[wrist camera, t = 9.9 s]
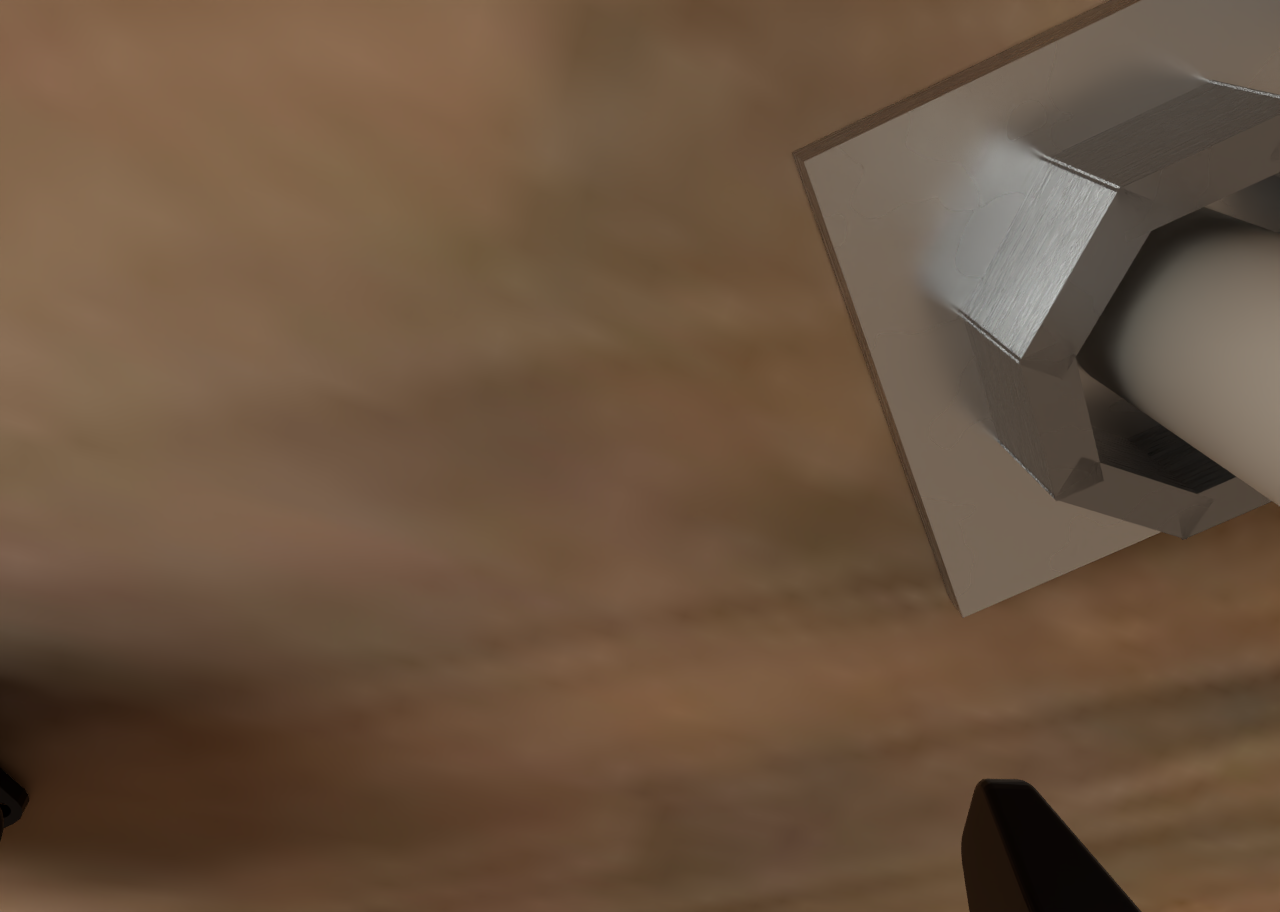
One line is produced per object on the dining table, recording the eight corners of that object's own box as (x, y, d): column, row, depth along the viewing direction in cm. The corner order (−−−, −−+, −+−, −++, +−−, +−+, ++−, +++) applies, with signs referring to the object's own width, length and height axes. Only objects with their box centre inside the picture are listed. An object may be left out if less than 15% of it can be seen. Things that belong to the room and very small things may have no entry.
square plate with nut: (949, 598, 25) (1010, 686, 22) (792, 152, 19) (846, 194, 16) (1414, 395, 24) (1542, 460, 21) (1395, -136, 18) (1567, -148, 15)
